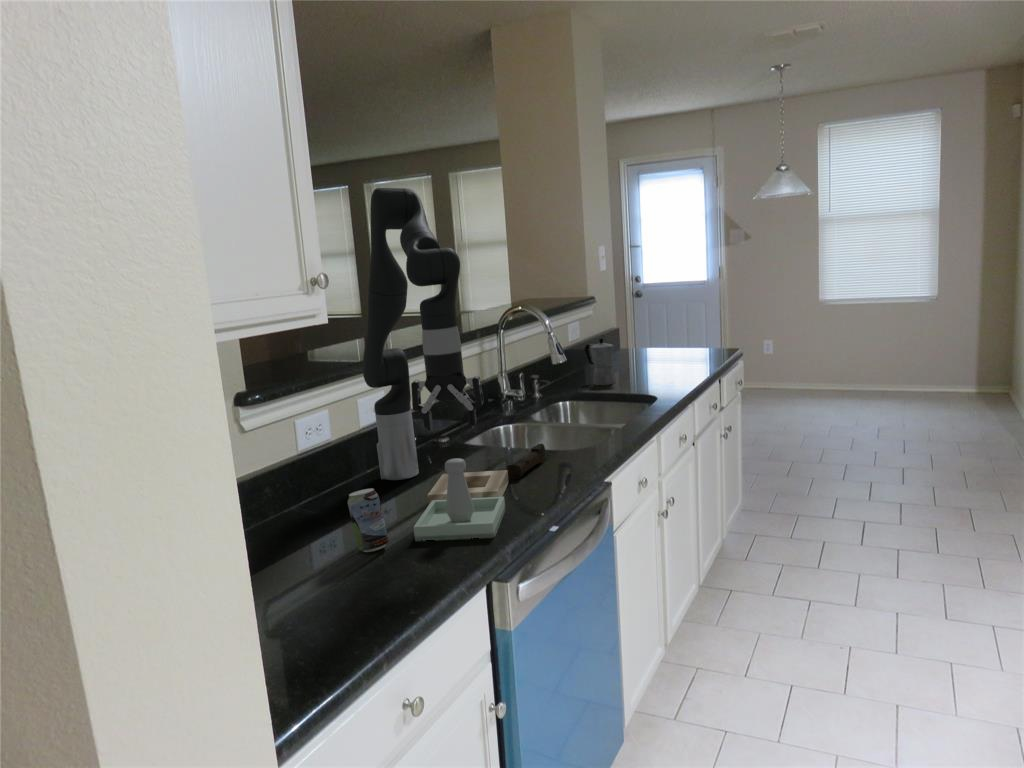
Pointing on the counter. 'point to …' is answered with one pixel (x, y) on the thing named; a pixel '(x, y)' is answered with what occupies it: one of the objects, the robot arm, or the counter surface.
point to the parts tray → (442, 528)
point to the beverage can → (367, 520)
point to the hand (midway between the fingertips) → (450, 429)
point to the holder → (474, 485)
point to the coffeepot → (601, 362)
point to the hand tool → (527, 462)
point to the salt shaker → (458, 492)
